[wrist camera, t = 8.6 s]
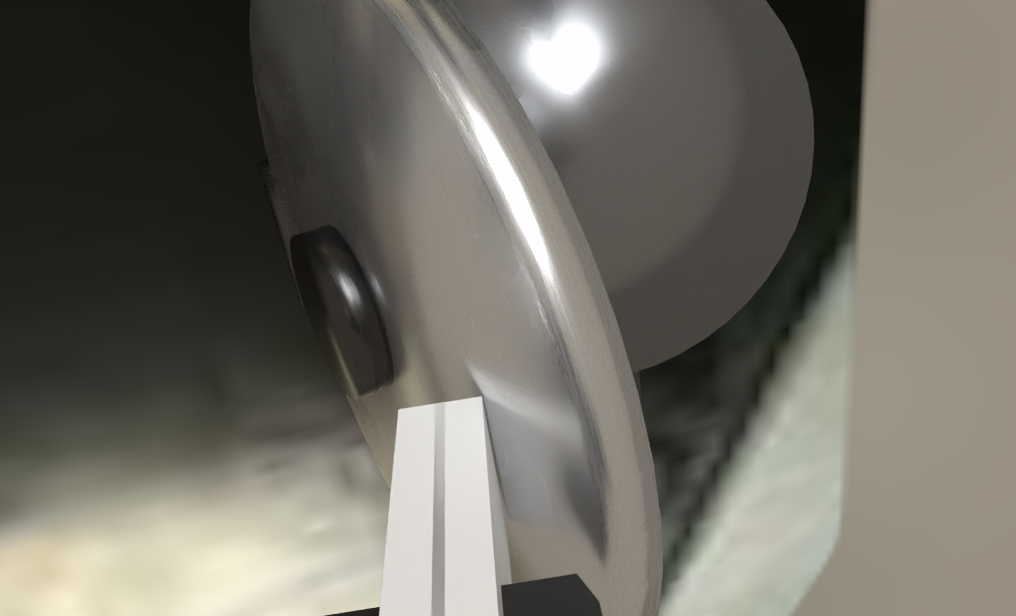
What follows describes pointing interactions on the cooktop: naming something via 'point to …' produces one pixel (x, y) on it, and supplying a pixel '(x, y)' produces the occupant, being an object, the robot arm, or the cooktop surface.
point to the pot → (664, 147)
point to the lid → (456, 274)
